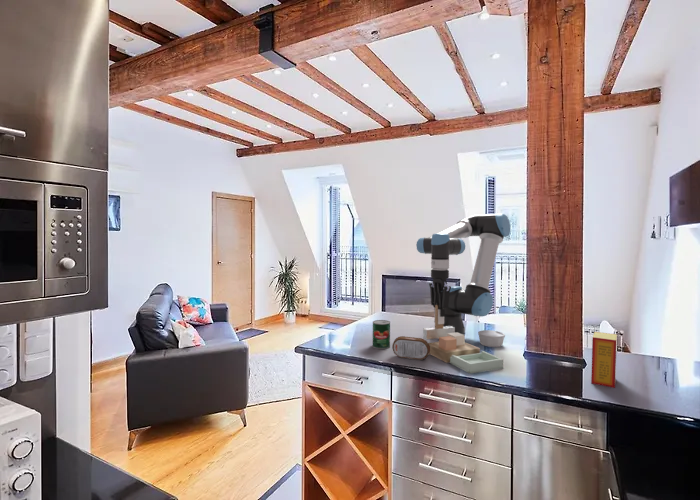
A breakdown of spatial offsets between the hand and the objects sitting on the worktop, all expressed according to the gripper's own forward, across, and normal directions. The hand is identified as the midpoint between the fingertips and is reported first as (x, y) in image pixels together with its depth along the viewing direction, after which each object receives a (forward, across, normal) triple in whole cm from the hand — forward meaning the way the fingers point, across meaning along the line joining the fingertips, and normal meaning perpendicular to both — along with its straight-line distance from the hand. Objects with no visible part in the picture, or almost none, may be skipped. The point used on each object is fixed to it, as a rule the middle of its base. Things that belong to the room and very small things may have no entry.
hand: (439, 323), depth 168 cm
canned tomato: (+12, -12, -22) cm, 28 cm away
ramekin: (+12, +2, +26) cm, 29 cm away
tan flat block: (+11, +10, 0) cm, 15 cm away
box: (+11, +24, +1) cm, 26 cm away
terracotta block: (+7, +12, -4) cm, 14 cm away
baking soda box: (+11, +51, +32) cm, 61 cm away
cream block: (+7, +8, +3) cm, 11 cm away
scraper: (+6, 0, 0) cm, 6 cm away
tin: (+12, +7, -18) cm, 22 cm away
